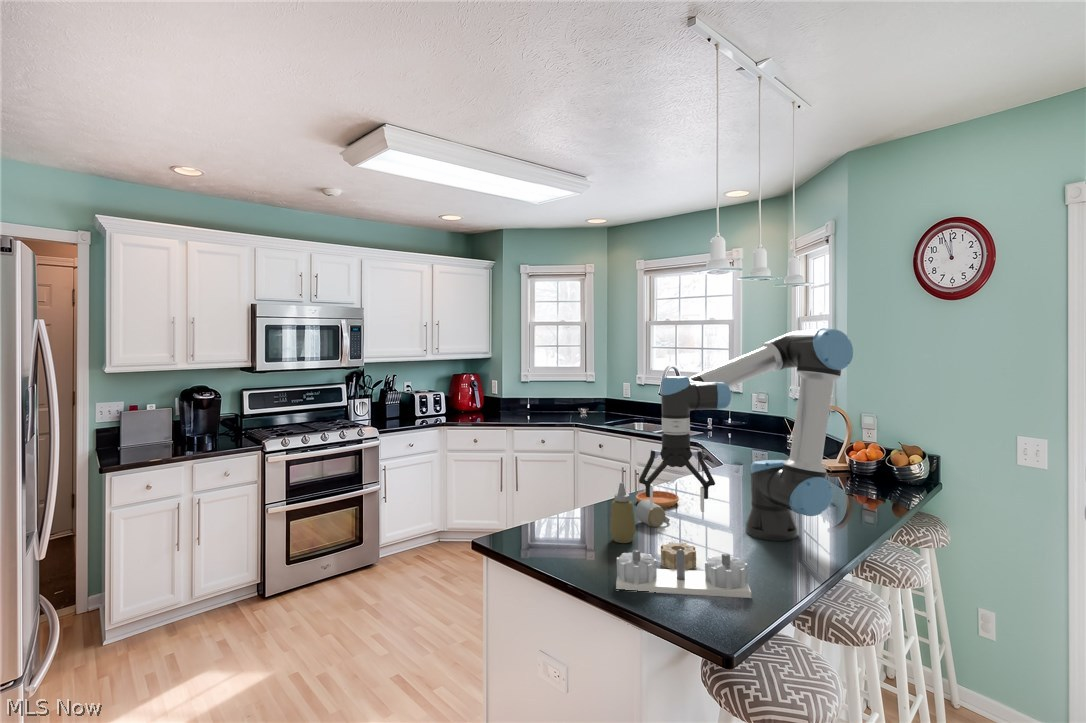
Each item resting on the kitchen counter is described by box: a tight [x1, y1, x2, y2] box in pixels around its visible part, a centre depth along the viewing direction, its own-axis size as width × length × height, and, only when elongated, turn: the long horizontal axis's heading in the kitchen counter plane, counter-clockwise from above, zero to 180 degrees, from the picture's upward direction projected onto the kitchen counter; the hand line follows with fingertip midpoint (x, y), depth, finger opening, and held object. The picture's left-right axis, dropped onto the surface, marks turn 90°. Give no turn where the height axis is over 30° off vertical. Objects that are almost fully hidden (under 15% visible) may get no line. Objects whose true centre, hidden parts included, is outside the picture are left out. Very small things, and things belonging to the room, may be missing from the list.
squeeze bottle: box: [609, 482, 637, 544], centre depth 173 cm, size 8×8×18 cm
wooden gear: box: [660, 541, 697, 570], centre depth 154 cm, size 9×9×4 cm
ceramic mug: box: [634, 500, 671, 528], centre depth 189 cm, size 11×8×8 cm
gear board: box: [615, 549, 752, 599], centre depth 141 cm, size 32×11×9 cm, turn 79°
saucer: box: [635, 490, 679, 509], centre depth 213 cm, size 16×16×3 cm
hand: (676, 509), depth 153 cm, fingers open, 13 cm apart
